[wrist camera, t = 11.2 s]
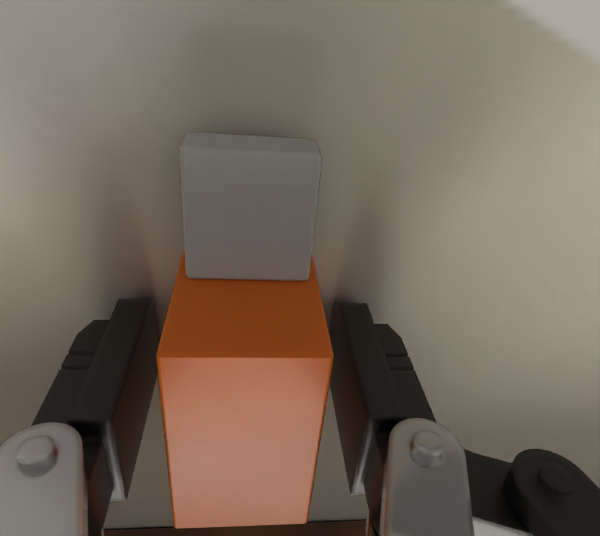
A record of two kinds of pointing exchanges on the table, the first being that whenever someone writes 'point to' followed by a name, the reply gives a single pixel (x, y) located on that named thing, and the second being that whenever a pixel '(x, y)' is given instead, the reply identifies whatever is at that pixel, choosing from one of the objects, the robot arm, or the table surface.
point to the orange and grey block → (245, 335)
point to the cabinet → (255, 530)
